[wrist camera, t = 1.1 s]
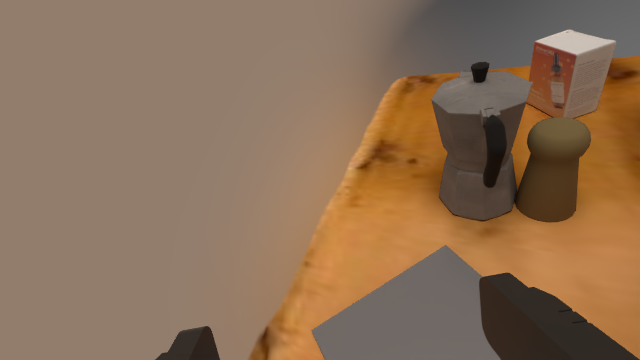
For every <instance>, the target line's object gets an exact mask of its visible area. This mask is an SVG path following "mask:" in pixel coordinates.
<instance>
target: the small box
mask: <svg viewBox="0 0 640 360" xmlns="http://www.w3.org/2000/svg"><path fill="white" fill-rule="evenodd" d="M615 45H616V41H614V40H606V39H602V38H598V37H594V36H590V35H586V34H583V33H578V32H575V31H573V30H566V31H563V32H560V33H557V34H554V35H551V36H549V37H546V38H543V39H540V40H537V41H535V42H534V50H533V57H532V64H531V70H530V77H529V82H532V85H531V88H530V91H529V95H528V98H527V101H526V103H528V104H530V105H532V106H534V107H536V108H538V109H540V110H541V111H543V112H545V113H547V114H548V115H550V116H552V117H554V118H556V117H565V118H571V119H572V118H575V117H578V116H581V115H584V114H587V113H590V112H593V111H595V110H596V109H597V106H598V102H599V99H600V96H601V92H602V89H603V86H604V82H605V79H606V76H607V72H608V69H609V66H610V62H611V59H612V55H613V52H614V48H615Z"/></svg>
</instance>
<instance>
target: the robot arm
mask: <svg viewBox="0 0 640 360" xmlns="http://www.w3.org/2000/svg"><path fill="white" fill-rule="evenodd" d="M479 291H480V306H481V321H482V327H483V331H484V334H485V337H486V339H487V341H488V343H489V344H490V346H491V347H492V349H493V350H494V351H495V353H496V354H497V355H498V356H499V358H500V359H501V360H639V359H638V358H637V357H635V356H634V355H633V354H631V353H630V352H629V351H627V350H626V349H625V348H623V347H622V346H621V345H619V344H618V343H617V342H615V341H614V340H613V339H611V338H610V337H609V336H607V335H606V334H605V333H603V332H602V331H601V330H599V329H598V328H597V327H595V326H594V325H593V324H591V323H588V322H587V320H586V319H585V318H583V317H582V316H581V315H579V314H578V313H577V312H573V311H572V309H571V308H570V307H569V306H567V305H566V304H565V303H563V302H562V301H561V300H559V299H558V298H557V297H555V296H553V295H551V294H549V293H546V292H544V291H542V290H540V289H537V288H535V287H530V288H528V287H527V286H526V285H524V284H523V283H522V282H521V281H519V280H518V279H517V278H516V277H514V276H513V275H512V274H510V273H502V274H497V275H491V276H486V277H481V278H480V281H479ZM156 360H220V358H219V355H218V352H217V348H216V345H215V341H214V337H213V334H212V331H211V329H210V328H209V327H208V326H205V327H200V328H194V329H188V330H183V331H181V332H179V334H178V335H177V337H176V339H175V340H174V342H173V344H172V346H171V348H170V349H169V351H168V352H167V353H162V354H161V355H160V356H159V357H158V358H157V359H156Z"/></svg>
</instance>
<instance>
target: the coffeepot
mask: <svg viewBox="0 0 640 360" xmlns="http://www.w3.org/2000/svg"><path fill="white" fill-rule="evenodd" d="M488 68H489V63H487V62H478V63H475V64H473V65H472V66H471V70H470V71H466V70H464V71H462V72H461V73H460V75H459V77H458V78H456V79H453V80H450V81H448V82H445V83H442V84H441V86H440V87H439V89H438V90H437V92H436V93H435V95H434V96H433V98H432V99H431V101H432V104H433V108H434V112H435V116H436V120H437V124H438V128H439V132H440V136H441V140H442V144H443V147H444V148H445V149H446V150H447V151H448V155H447V157H446V160H445V164H444V170H443V176H442V181H441V187H440V193H439V197H440V199H441V200H442V202H443V203H444V205H445V206H446V207H447V208H448V209H449V210H450V211H451V212H452V213H453V214H455V215H458V216H460V217H464V218H467V219H473V220H488V219H492V218H496V217H499V216H501V215H503V214H505V213H506V212H508V211H511V210H512V207H513V203H514V199H515V196H516V192H517V188H516V181H515V173H514V165H513V157H512V154H511V153H510V152H511V150H512V147H513V143H514V140H515V137H516V134H517V130H518V127H519V124H520V121H521V117H522V114H523V111H524V108H525V104H526V101H527V98H528V95H529V91H530V88H531V85H532V82H529V81H527V80H525V79H523V78H520V77H518V76H516V75H514V74H511V73H509V72H488Z"/></svg>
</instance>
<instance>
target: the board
mask: <svg viewBox="0 0 640 360" xmlns="http://www.w3.org/2000/svg"><path fill="white" fill-rule="evenodd" d="M481 277H482V276H481V275H480V274H478V273H477V272H476V271H475V270H474V269H473V268H472V267H470V266H469V265H468V264H467V263H466V262H465V261H463V260H462V259H461V258H460V257H459V256H458V255H457V254H455V253H454V252H453V251H452V250H451V249H450V248H449V247H447V246H446V245H445V246H444V247H442V248H440V249H439V250H437V251H436V252H434V253H433V254H431V255H429V256H428V257H426V258H425V259H423V260H422V261H420V262H418V263H417V264H415V265H414V266H412V267H410V268H409V269H407V270H406V271H404V272H403V273H401V274H399V275H398V276H396V277H395V278H393V279H392V280H390V281H388V282H387V283H385V284H384V285H382V286H381V287H379V288H377V289H376V290H374V291H373V292H371V293H370V294H368V295H366V296H365V297H363V298H362V299H360V300H359V301H357V302H355V303H354V304H352V305H351V306H349V307H348V308H346V309H344V310H343V311H341V312H340V313H338V314H337V315H335V316H333V317H332V318H330V319H329V320H327V321H325V322H324V323H322V324H321V325H319V326H318V327H316V328H314V329H313V330H312V332H313V335H314V337H315V339H316V341H317V343H318V345H319V347H320V349H321V352H322V354H323V356H324V358H325V360H501V359H500V358H499V356H498V355H497V354H496V353H495V351H494V350H493V349H492V347H491V346H490V344H489V343H488V341H487V339H486V337H485V334H484V331H483V327H482V321H481V306H480V291H479V281H480V278H481Z"/></svg>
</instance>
